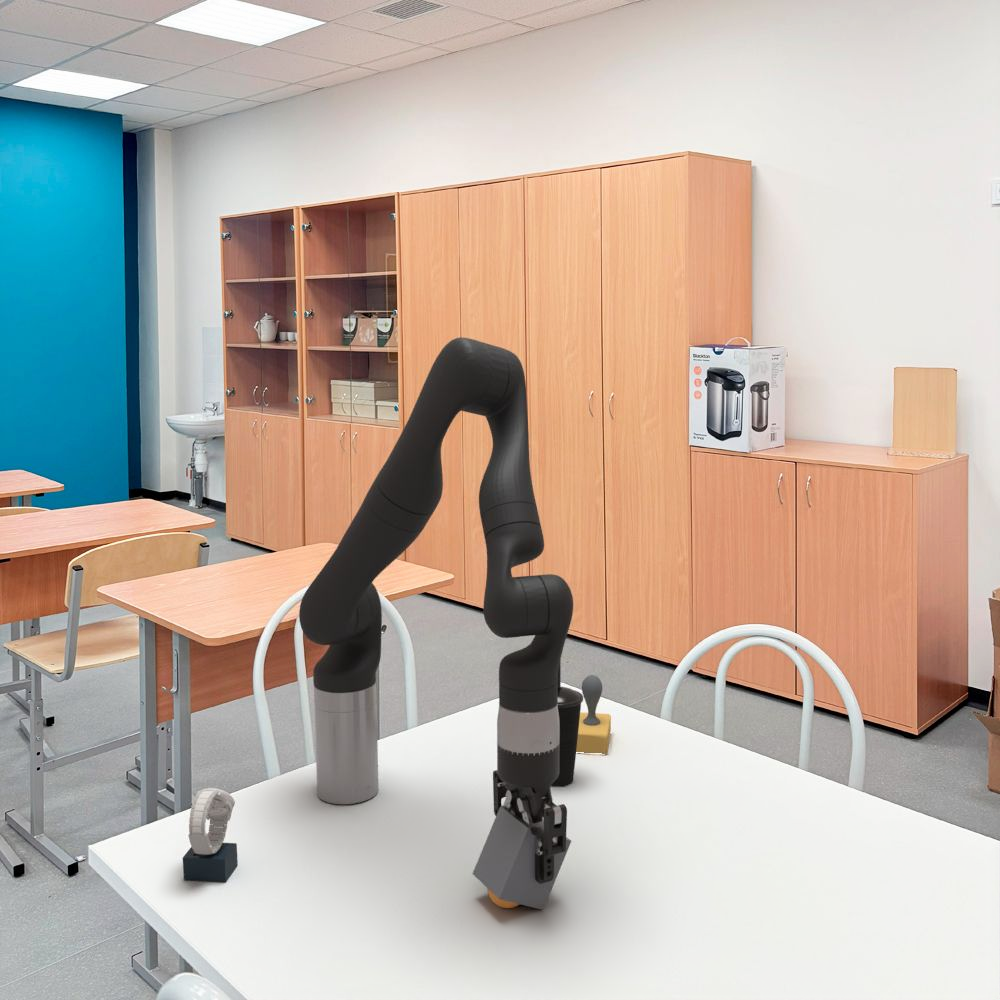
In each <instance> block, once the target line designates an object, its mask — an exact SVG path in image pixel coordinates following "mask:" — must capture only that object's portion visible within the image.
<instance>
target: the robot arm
mask: <svg viewBox="0 0 1000 1000" xmlns="http://www.w3.org/2000/svg"><path fill="white" fill-rule="evenodd" d="M419 392H420V393H419V395H418V397H417V400H416V402H415V404H414V406H413V409H412V411H411V413H410V416H409V418H408V419H407V421H406V424H405V426H404V428H403V429H402V432H401V434H400V435H399V437H398V438H397V441H396V443H395V445H394V446H393V448H392V450H391V451H390V454H389V456H388V458H387V459H386V461H385V463H384V464H383V465H382V467H381V469H380V470H379V472H378V474H377V475H376V477H375V478H374V481H373V482H372V484H371V485H370V488H369V489H368V491H367V493H366V495H365V496H364V498H363V500H362V503H361V505H360V507H359V509H358V510H357V512H356V514H355V515H354V517H353V518H352V520H351V522H350V524H349V526H348V527H347V529H346V530H345V532H344V534H343V537H342V538H341V540H340V541H339V544H338V546H337V547H336V549H335V550H334V551H333V553H332V555H331V556H330V558H329V559H328V561H326V563H325V564H324V566H323V567H322V568H321V570H320V571H319V572H318V574H317V575H316V577H315V578H314V579H313V580H312V582H311V583H310V584H309V586H308V588H307V589H306V591H305V592H304V594H303V596H302V598H301V602H300V605H299V610H298V611H299V613H298V614H299V615H298V617H299V619H298V620H299V624H300V627H301V630H302V633H303V634H304V635H305V637H306V638H307V639H308V640H309V641H310V642H313V643H314V644H316V645H321V646H329V647H327V650H326V652H325V653H324V654H323V656H322V657H321V658H320V659H319V660H318V661H317V662H316V663H315V665H314V667H313V673H312V676H313V699H314V700H313V701H314V702H313V703H314V732H315V734H314V735H315V761H316V762H315V763H316V764H315V765H316V766H315V768H316V792H317V793H316V794H317V797H318V798H319V799H320V800H322V801H324V802H326V803H330V804H334V805H353V804H358V803H361V802H362V803H363V802H365V801H368V800H371V799H372V798H374V797H375V796H376V795H377V794H378V792H379V752H378V751H379V749H378V747H379V746H378V712H377V711H378V709H377V705H378V704H377V670H378V667H379V666H380V665H379V664H380V663H381V662H380V661H381V657H382V656H381V655H382V631H383V630H382V628H383V627H382V625H383V612H382V611H383V610H382V603H381V598H380V595H379V592H378V589H377V588H376V586H375V585H374V583H373V582H374V580H376V578H377V577H378V576H379V575H380V574H381V573H382V572H383V571H384V570H386V569H387V568H388V567H389V566H390V565H391V564H392V563H393V562H394V561H396V559H398V558H399V557H400V556H401V555H402V554H403V553H404V552H405V551H406V550H407V549H408V548H409V547H410V546H411V545H412V544H413V543H414V542H415V541H416V539H418V537H419V536H420V534H421V533H422V532H423V530H424V528H425V527H426V526H427V524H428V522H429V521H430V519H431V517H432V516H433V514H434V512H435V511H436V509H437V507H438V505H439V503H440V500H441V499H442V496H443V486H444V485H443V484H444V479H443V478H444V477H443V466H442V445H443V441H444V438H445V436H446V435H447V432H448V429H449V428H450V426H451V424H452V422H453V421H454V419H455V418H456V416H457V415H458V414H459V413H460V412H461V411H462V412H465V413H469V414H475V415H478V416H483V417H485V419H486V421H487V423H488V427H489V429H490V434H491V437H492V449H491V454H490V457H489V461H488V464H487V467H486V468H485V472H484V474H483V476H482V479H481V483H480V487H479V492H478V508H479V515H480V520H481V526H482V531H483V537H484V541H485V547H486V566H487V567H486V580H485V588H484V597H483V598H484V599H483V607H482V608H483V618H484V620H485V621H484V622H485V624H486V625H487V627H488V629H489V630H490V631H491V633H493V634H494V635H495V636H497V637H499V638H502V639H504V638H505V639H508V638H510V639H511V638H520V637H526V636H527V637H529V636H531V637H532V636H534V637H533V639H532V641H531V642H530V643H529V645H527V646H524V648H521V649H518V650H515V651H513V652H511V653H508V654H507V655H504V656H503V657H502V659H501V660H500V662H499V667H498V711H497V719H496V734H497V735H496V755H497V756H496V757H497V758H496V759H497V760H496V762H497V763H496V765H497V767H496V770H493V772H492V791H493V793H492V794H493V795H492V796H493V814H494V816H495V817H496V816H497V813H498V811H499V808H500V806H501V807H503V808H505V809H506V810H507V811H510V812H511V811H513V812H515V815H517V816H518V817H519V818H522V820H523V821H524V824H525V825H526V826H528V827H529V828H530V829H531V835H533V836H534V847H535V851H536V853H535V880H536V881H537V882H538V883H539V884H542V883H546V882H549V881H552V880H553V878H554V855H556V854H560V853H563V852H565V851H566V837H567V829H568V828H567V826H568V825H567V823H568V822H567V820H568V809H567V806H566V804H564V803H563V804H562V803H561V804H559V805H557V804H555V803H554V802H553V801H554V800H553V797H552V792H551V787H552V786H551V785H552V783H553V782H554V781H555V780H556V779H557V778H558V776H559V751H560V723H559V713H558V668H559V663H560V659H562V654H563V651H564V647H565V643H566V639H567V636H568V634H569V633H568V632H569V630H570V626H571V624H572V618H573V613H574V599H573V598H574V597H573V593H572V590H571V587H570V586H569V584H568V583H567V581H566V580H565V579H564V578H562V577H561V576H559V575H557V574H553V573H552V574H550V573H548V574H536V575H523V576H513V574H512V568H514V567H517V566H520V565H524V564H527V563H529V562H531V561H534V560H535V559H538V558H539V557H540V556H541V555H542V553H544V548H545V539H544V534H543V530H542V524H541V519H540V516H539V510H538V507H537V502H536V498H535V492H534V488H533V480H532V474H531V466H530V465H531V464H530V443H529V441H530V440H529V439H530V436H529V435H530V434H529V419H528V418H529V416H528V415H529V414H528V396H527V383H526V375H525V371H524V368H523V364H522V362H521V360H520V358H519V356H518V355H516V354H515V353H514V352H512V351H511V350H508V349H506V348H503V347H500V346H496V345H493V344H491V343H490V344H489V343H487V342H486V343H485V342H484V341H480V340H476V339H473V338H469V337H463V336H462V337H455V338H454V339H452V340H450V341H449V342H448V343H447V344H445V345H444V347H443V348H442V349H441V351H440V352H439V353H438V355H437V356H436V358H435V360H434V362H433V364H432V366H431V367H430V369H429V372H428V374H427V377H426V378H425V381H424V383H423V386H422V388H421V390H420V391H419ZM504 798H505V800H504V802H503V805H502V799H504ZM541 821H544V826H541V827H535V826H534V825H533V824H534V823H538V822H541ZM540 833H543V844H542V842H541V838H540ZM555 837H557V842H556V838H555Z"/></svg>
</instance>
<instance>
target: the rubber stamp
mask: <svg viewBox="0 0 1000 1000" xmlns="http://www.w3.org/2000/svg"><path fill="white" fill-rule="evenodd" d="M581 692H582V693H581V694H582V695H583V700H584V701H585V704H586V707H587V712H581V711H580V719H579V729H578V739H577V749H576V752H584V753H602V754H606V753H607V754H608V752H609V746H608V745H610V739H611V738H610V737H611V733H612V732H611V730H612V727H611V726H612V725H611V724H612V721H611V718H612V717H611V715H610V713H599V712H598V713H596V712H597V708H598V707H597V706H598V704H599V703H600V702H599V701H600V699H601V696H602V693H603V683H602V680H601V679H600V678H599V677H598V676H597V675H594V674H590V675H588V676H586V677H585V678H584V679H583V681H582V683H581ZM610 732H611V733H610ZM609 738H610V739H609ZM607 754H606V755H607Z"/></svg>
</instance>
